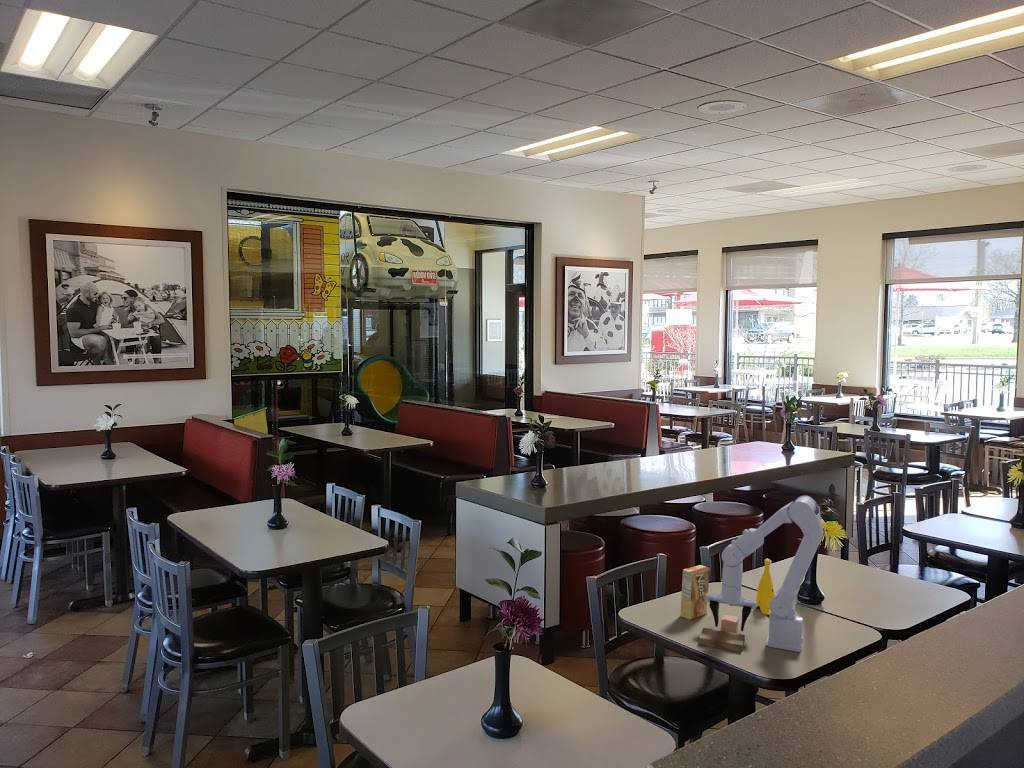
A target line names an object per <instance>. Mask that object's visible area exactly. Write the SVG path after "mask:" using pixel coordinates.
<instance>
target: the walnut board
mask: <svg viewBox="0 0 1024 768" xmlns="http://www.w3.org/2000/svg"><path fill="white" fill-rule="evenodd" d="M698 639H699V640H698V641H699V642H698V645H701V646H706V647H712V648H717V649H724V650H729V651H734V652H738V653H743V650H744V646H745V645H744V644H745V643H746V635H745V634H741V633H738V632H737V633H731V632H725V631H721V630H718V629H714V628H708V627H703V628H702V630H701V633H700V635H699V638H698Z"/></svg>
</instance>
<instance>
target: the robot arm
mask: <svg viewBox="0 0 1024 768" xmlns="http://www.w3.org/2000/svg"><path fill="white" fill-rule="evenodd" d="M792 523H795V524H796V525H797V526H798V527H799V528H800V530H801V532H802V535H803V537H802V538H801V541H800V543H799V546H798V549H797V551H796V553H795V555H794V556H793V560H792V562H791V564H790V566H789V569H788V571H787V574H786V575H785V578H784V580H783V583H782V584H781V586H780V588H779V589H777V590H776V593H774V598H773V599H772V600H771V601H770V604H769V607H770V615H769V623H768V634H767V636H766V637H767V638H766V641H765V642H766V643H765V647H770V648H775V649H780V650H787V651H793V652H798V653H800V652H802V644H803V642H804V641H803V640H804V637H803V625H804V622H803V621H804V618H803V617H802V616H799V615H797V613H796V611H795V609H794V608H795V607H796V606H797V604H798V593H799V591H800V588H801V586H802V584H803V580H804V578H805V576H806V574H807V573H808V570H809V568H810V565H811V563H812V561H813V558H814V556H815V554H816V552H817V550H818V547H819V546H820V543H821V541H822V539H823V536H824V528H823V522H822V517H821V509H820V507H819V506H818V504H817V502H816V500H815V499H813V498H812V497H811V496H809V495H801V496H799V497H797V498H795V500H794V501H791V502H789V503H787V504H786V505H784V506H783V507H780V509H779V510H777V511H776V512H775V513H774V514H773V515H771V516H770V517H769V518H768V519H767V520H766V521H765V522H763V523H762V524H761V525H759V527H758V528H748V529H747V528H746V529H744V530H743V531H742V532H741V533H742V534H741V535H740V536H739V537H738V538H736V539H732V540H731V541H730V543H731V544H729V545H727V546H726V547H725V548H724V549H723V551H722V552H721V560H722V561H723V567H722V578H721V594H720V593H718V594H717V593H709V592H708V593H707V595H706V602H707V603H709V604H708V605H709V609H710V611H711V613H712V616H713V619H714V620H713V621H714V626H715V627H716V628H718V627H719V611H720V604H724V605H730V606H736V607H742V610H741V624H740V625H741V626H740V632H744V631H745V630H744V629H745V626H746V622H747V620H748V618H749V616H750V614H751V612H752V610H756V609H757V607H756V600H752V599H748V598H744V597H742V587H743V586H742V585H743V584H742V583H743V563H744V562H743V560H744V559H745V558H747V557H748V556H750V555H751V554H752V553H754V552H755V551H756V550H757V549H759V548H761V546H763V545H764V542H765V539H764V538H765V537H767V536H768V535H769V534H770V533H771V532H773V531H775V530H776V529H777V528H778V527H780V526H782V525H783V524H792Z"/></svg>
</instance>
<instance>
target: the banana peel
mask: <svg viewBox="0 0 1024 768" xmlns="http://www.w3.org/2000/svg"><path fill="white" fill-rule="evenodd" d="M763 561H764V570H763V573H762V575H761V577H760V579H759V583H758V586H757V589H756V598H755V601H756V608H758V607H759V609H760V612H761V614H763V615H766V616H768V615H769V616H770V607H769V604H770V601H771V600H772V599H773V598H774V596H775V589H774V585H773V584H774V583H773V579H772V577H771V573H770V566H771V560H770V559H769V558H766V559H764V560H763Z"/></svg>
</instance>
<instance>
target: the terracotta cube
mask: <svg viewBox="0 0 1024 768" xmlns="http://www.w3.org/2000/svg"><path fill="white" fill-rule="evenodd" d="M738 630H739V616H735V615H729V614H722V616H721V623H720V631H725V632H731V633H737V634H738Z"/></svg>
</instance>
